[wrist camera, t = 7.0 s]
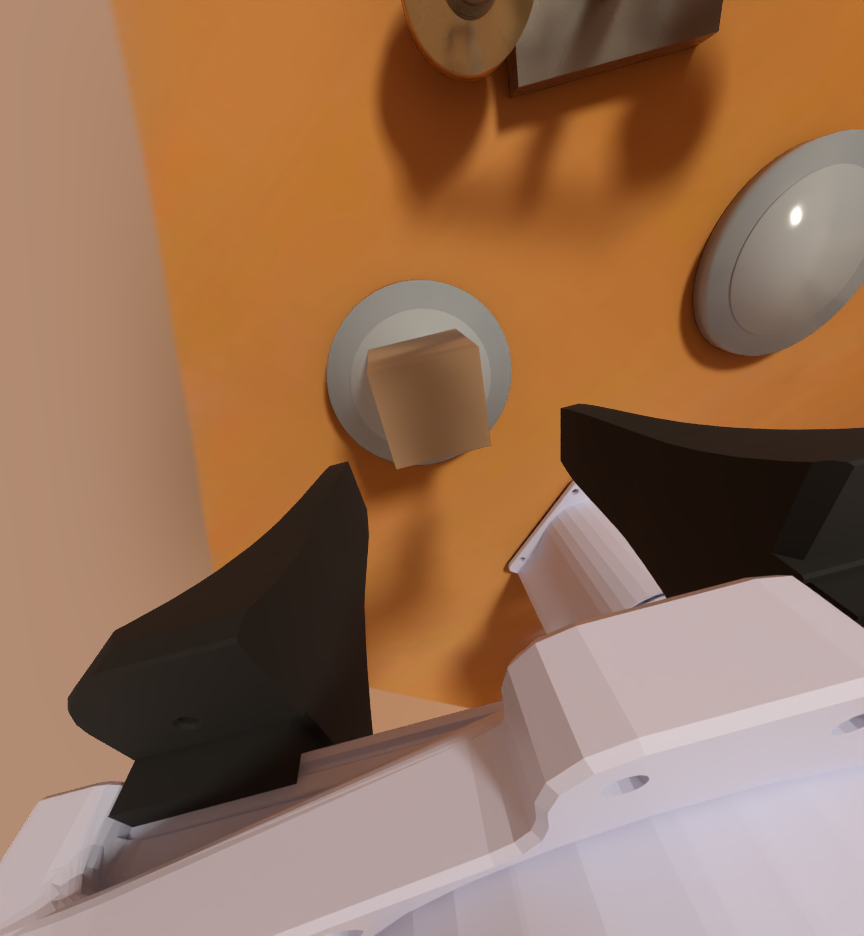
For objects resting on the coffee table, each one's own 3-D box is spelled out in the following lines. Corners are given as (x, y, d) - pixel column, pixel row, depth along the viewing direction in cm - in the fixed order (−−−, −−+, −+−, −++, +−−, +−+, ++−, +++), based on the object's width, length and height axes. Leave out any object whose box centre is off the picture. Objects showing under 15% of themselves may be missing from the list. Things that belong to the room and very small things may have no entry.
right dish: (757, 378, 23) (773, 382, 22) (657, 305, 19) (671, 307, 18) (909, 211, 19) (937, 208, 18) (816, 81, 15) (846, 69, 14)
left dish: (454, 477, 23) (458, 486, 22) (305, 423, 20) (301, 431, 19) (539, 335, 19) (547, 339, 18) (369, 236, 16) (368, 235, 15)
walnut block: (455, 328, 17) (478, 346, 13) (468, 410, 20) (491, 445, 16) (368, 349, 17) (366, 374, 13) (391, 429, 19) (396, 469, 16)
